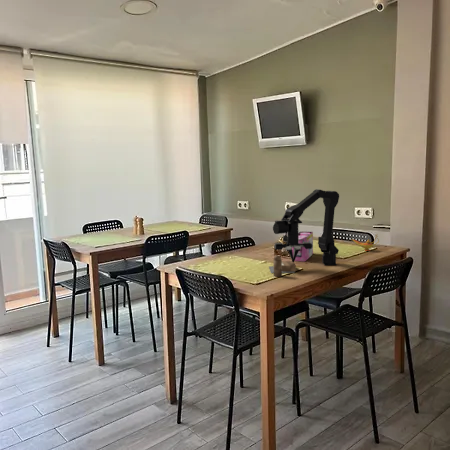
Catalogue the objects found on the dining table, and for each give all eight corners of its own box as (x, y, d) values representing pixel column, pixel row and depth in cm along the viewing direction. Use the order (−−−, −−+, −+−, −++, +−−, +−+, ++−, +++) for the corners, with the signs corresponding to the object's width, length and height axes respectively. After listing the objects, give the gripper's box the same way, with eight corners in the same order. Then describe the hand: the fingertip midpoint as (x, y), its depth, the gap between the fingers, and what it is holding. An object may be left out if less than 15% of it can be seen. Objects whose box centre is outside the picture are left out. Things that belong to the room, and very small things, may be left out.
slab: (293, 261, 239) (280, 261, 239) (295, 265, 229) (281, 265, 229) (293, 266, 239) (280, 266, 239) (295, 271, 229) (282, 271, 229)
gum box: (305, 262, 251) (304, 238, 249) (291, 261, 254) (290, 237, 252) (313, 253, 273) (313, 231, 271) (300, 253, 276) (300, 231, 274)
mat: (291, 266, 241) (291, 265, 241) (294, 272, 227) (294, 272, 227) (268, 267, 241) (268, 266, 241) (270, 273, 228) (270, 272, 228)
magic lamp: (352, 248, 284) (352, 231, 282) (380, 251, 273) (381, 233, 271) (347, 250, 278) (348, 232, 277) (376, 253, 267) (377, 235, 266)
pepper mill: (281, 274, 224) (281, 254, 223) (282, 276, 221) (281, 256, 219) (273, 275, 225) (273, 254, 223) (274, 277, 221) (273, 256, 219)
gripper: (308, 229, 239) (308, 258, 241) (273, 230, 240) (273, 259, 242) (312, 232, 228) (312, 262, 230) (275, 233, 229) (275, 263, 231)
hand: (293, 262), depth 234 cm, fingers closed
